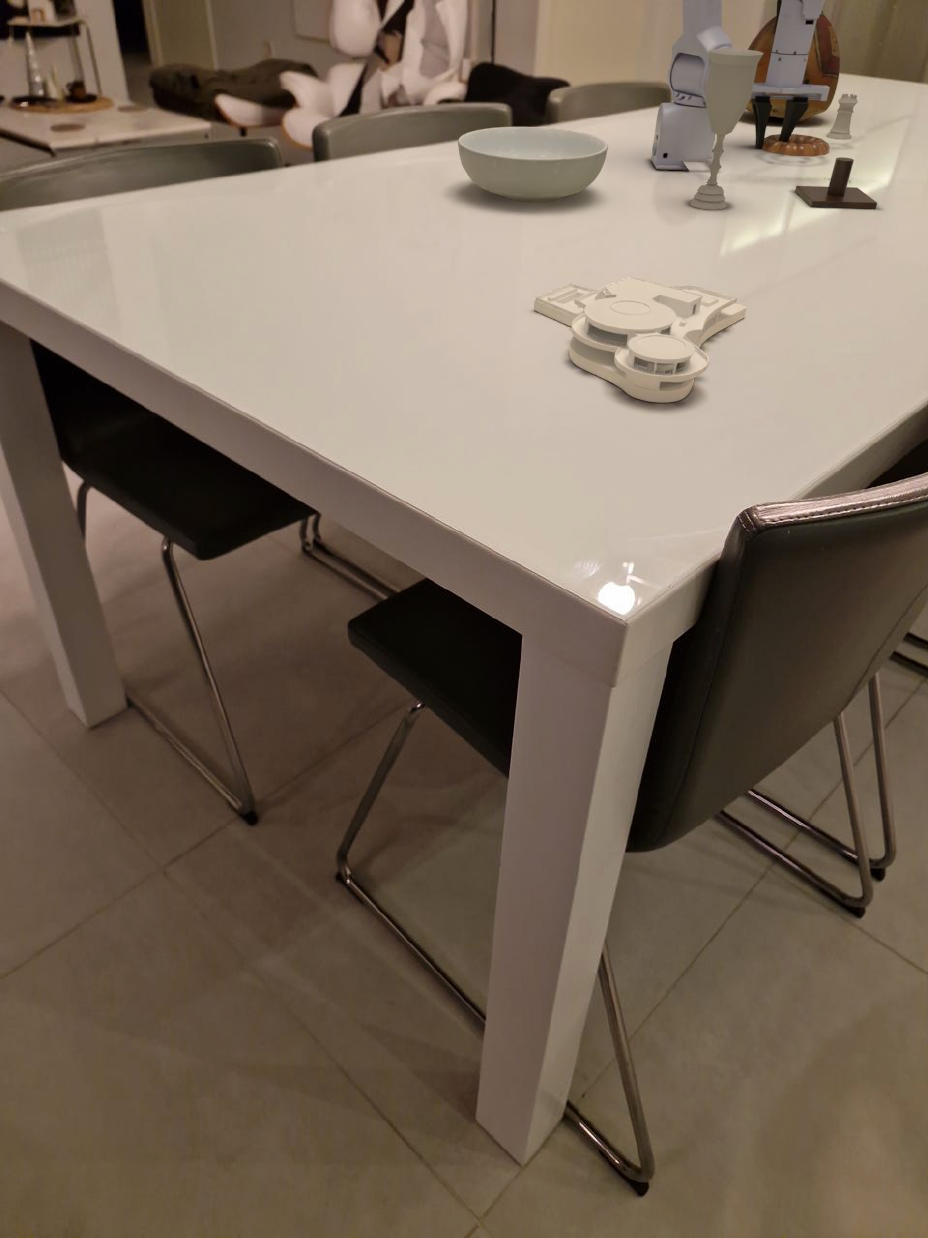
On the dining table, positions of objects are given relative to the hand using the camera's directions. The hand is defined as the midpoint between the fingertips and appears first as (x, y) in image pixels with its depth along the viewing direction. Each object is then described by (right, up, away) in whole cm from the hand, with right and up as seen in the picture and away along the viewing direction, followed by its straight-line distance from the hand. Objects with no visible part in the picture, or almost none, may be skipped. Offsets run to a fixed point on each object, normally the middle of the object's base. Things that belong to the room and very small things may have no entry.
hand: (769, 148), depth 145 cm
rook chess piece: (+16, +6, +10) cm, 19 cm away
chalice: (-17, -21, -24) cm, 37 cm away
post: (+2, -19, -21) cm, 28 cm away
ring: (+4, 0, 0) cm, 4 cm away
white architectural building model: (-35, -53, -64) cm, 90 cm away
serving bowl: (-42, -18, -21) cm, 51 cm away
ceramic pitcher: (+13, +23, +31) cm, 41 cm away
